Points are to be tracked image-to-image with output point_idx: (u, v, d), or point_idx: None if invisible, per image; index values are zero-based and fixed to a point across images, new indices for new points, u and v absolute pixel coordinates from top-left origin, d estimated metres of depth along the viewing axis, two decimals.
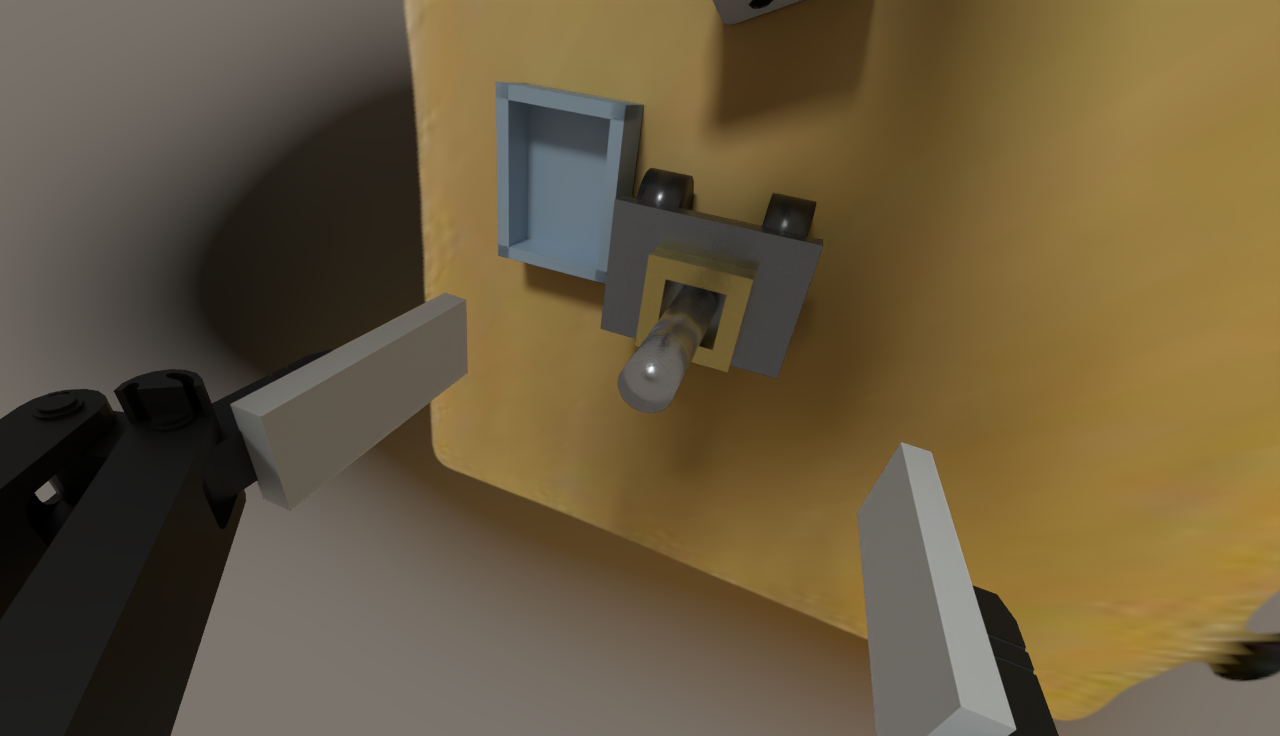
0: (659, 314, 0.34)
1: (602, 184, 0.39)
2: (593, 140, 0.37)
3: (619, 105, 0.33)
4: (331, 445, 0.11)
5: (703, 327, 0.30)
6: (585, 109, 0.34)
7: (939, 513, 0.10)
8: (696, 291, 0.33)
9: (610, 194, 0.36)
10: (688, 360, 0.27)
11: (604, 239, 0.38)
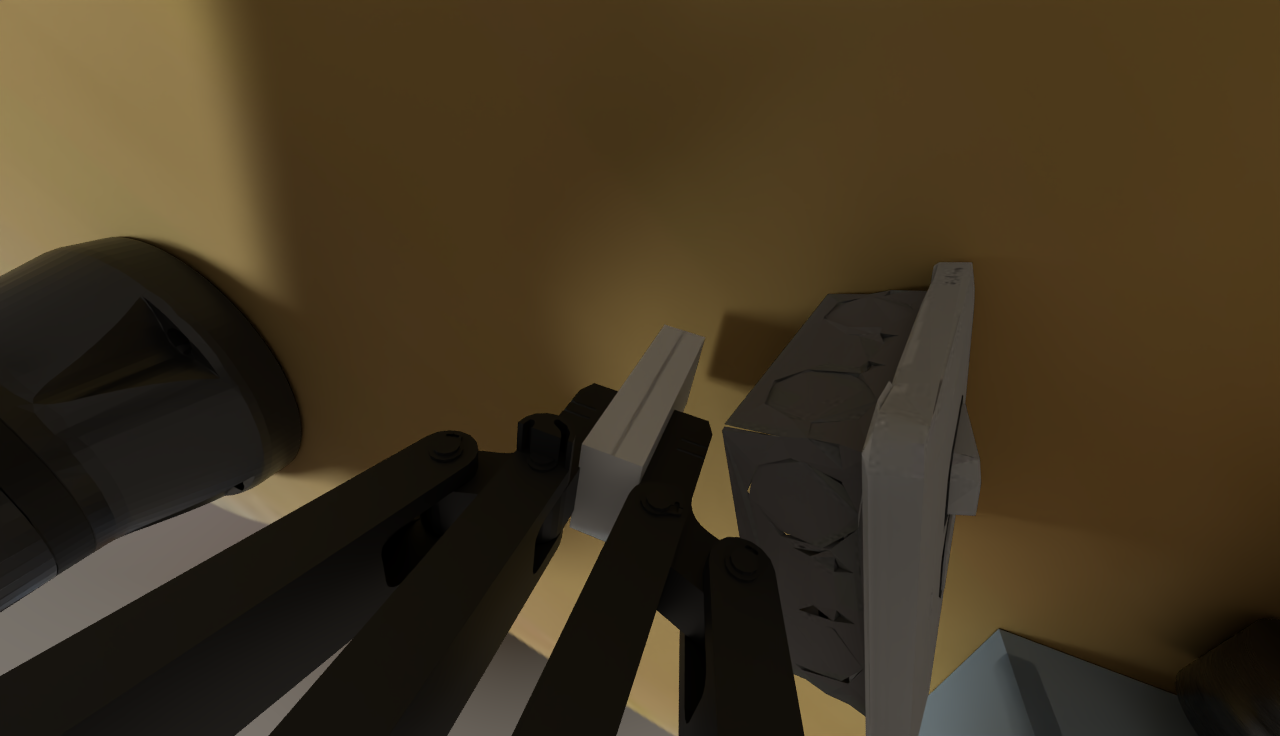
0: None
1: None
2: None
3: None
4: None
5: None
6: None
7: (680, 368, 0.14)
8: None
9: None
10: None
11: None
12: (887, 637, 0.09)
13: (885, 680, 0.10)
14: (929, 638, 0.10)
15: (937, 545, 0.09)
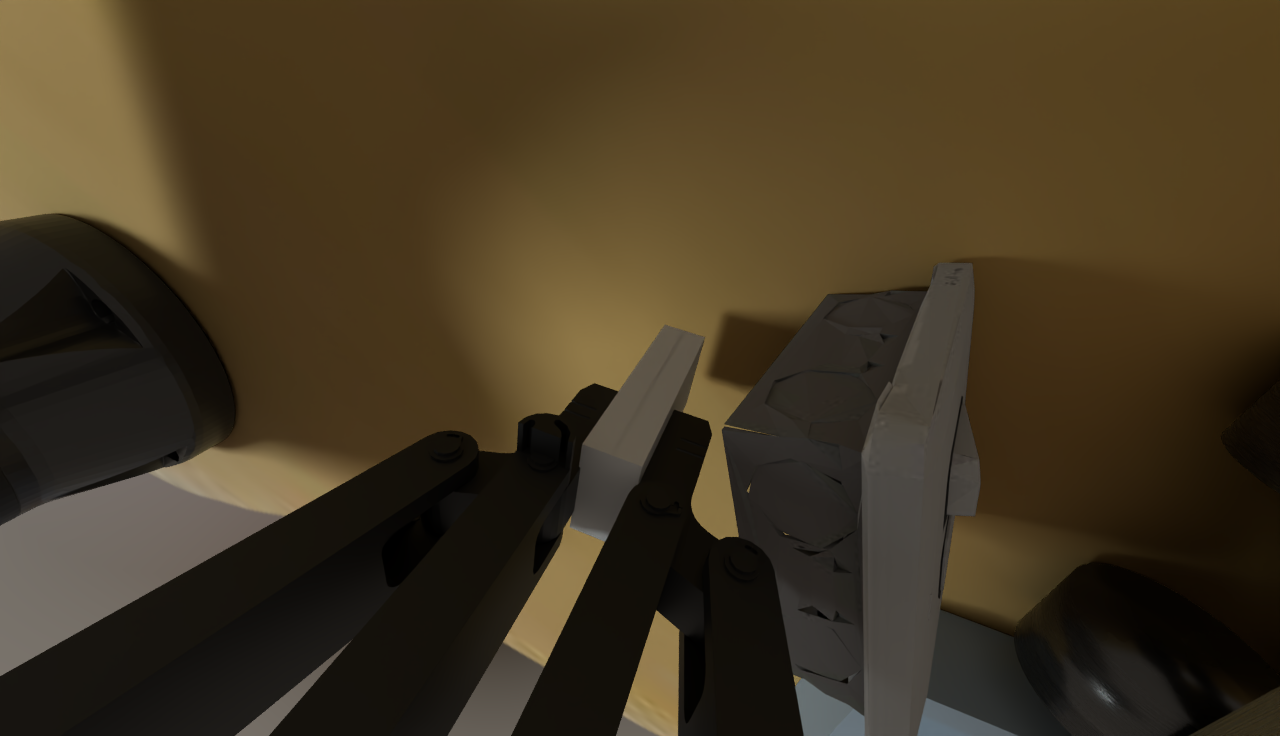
0: None
1: None
2: None
3: None
4: None
5: None
6: None
7: (680, 368, 0.14)
8: None
9: None
10: None
11: None
12: (886, 637, 0.09)
13: (884, 680, 0.10)
14: (928, 638, 0.10)
15: (936, 546, 0.09)
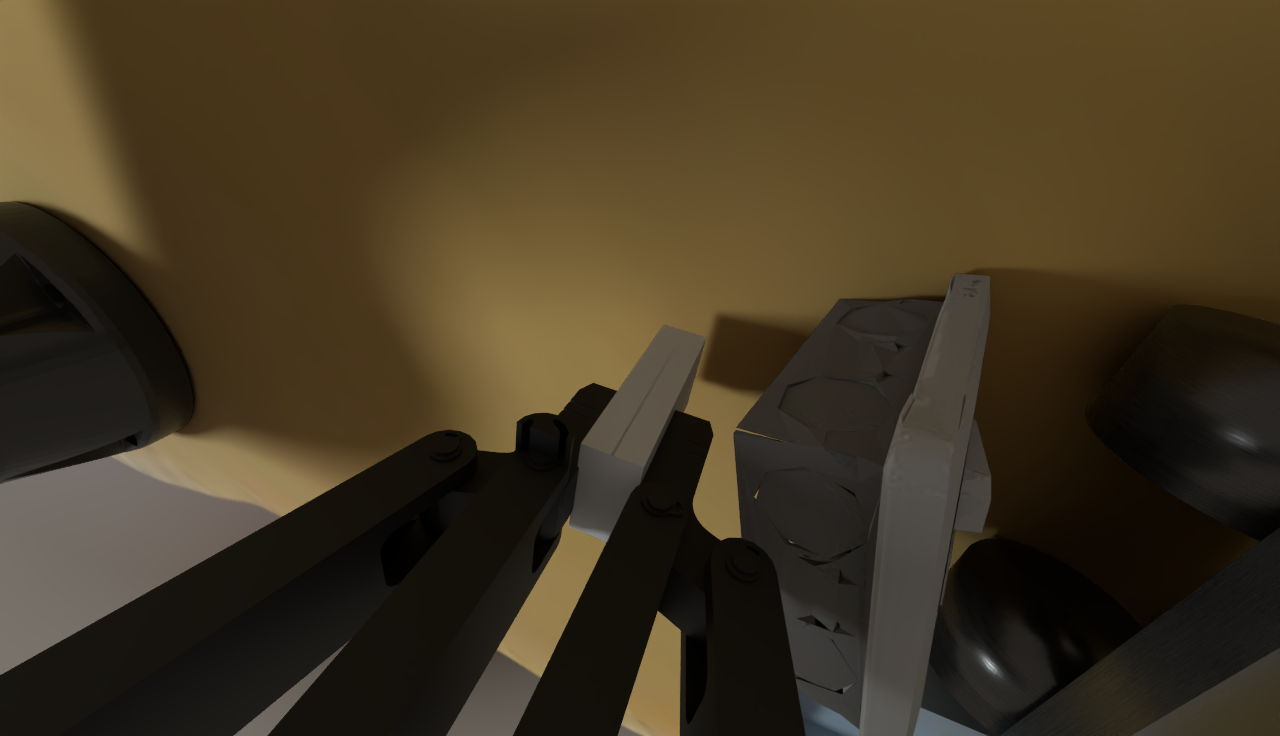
0: None
1: None
2: None
3: None
4: None
5: None
6: None
7: (681, 369, 0.14)
8: None
9: (955, 730, 0.16)
10: None
11: None
12: (891, 653, 0.09)
13: (884, 695, 0.09)
14: (928, 654, 0.10)
15: None
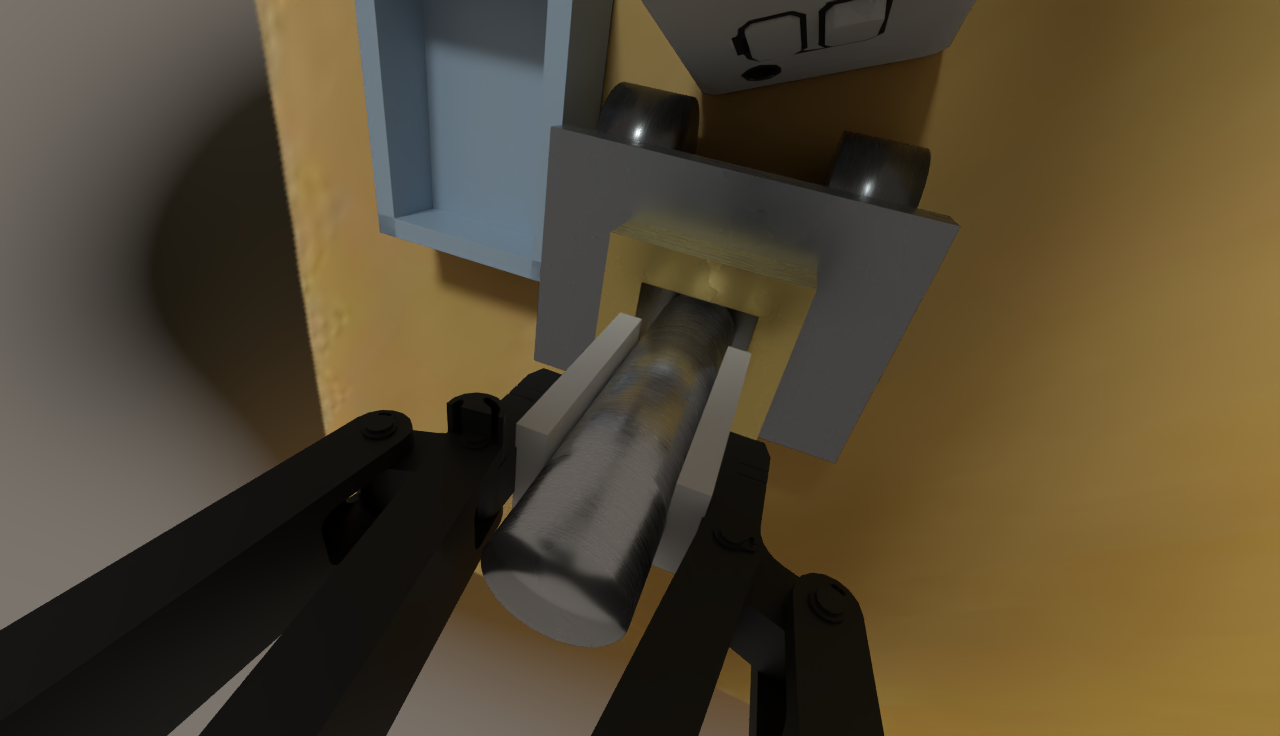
0: None
1: None
2: (529, 38, 0.22)
3: None
4: None
5: (711, 386, 0.14)
6: None
7: (732, 387, 0.13)
8: (698, 306, 0.17)
9: None
10: None
11: (544, 209, 0.22)
12: None
13: None
14: None
15: None
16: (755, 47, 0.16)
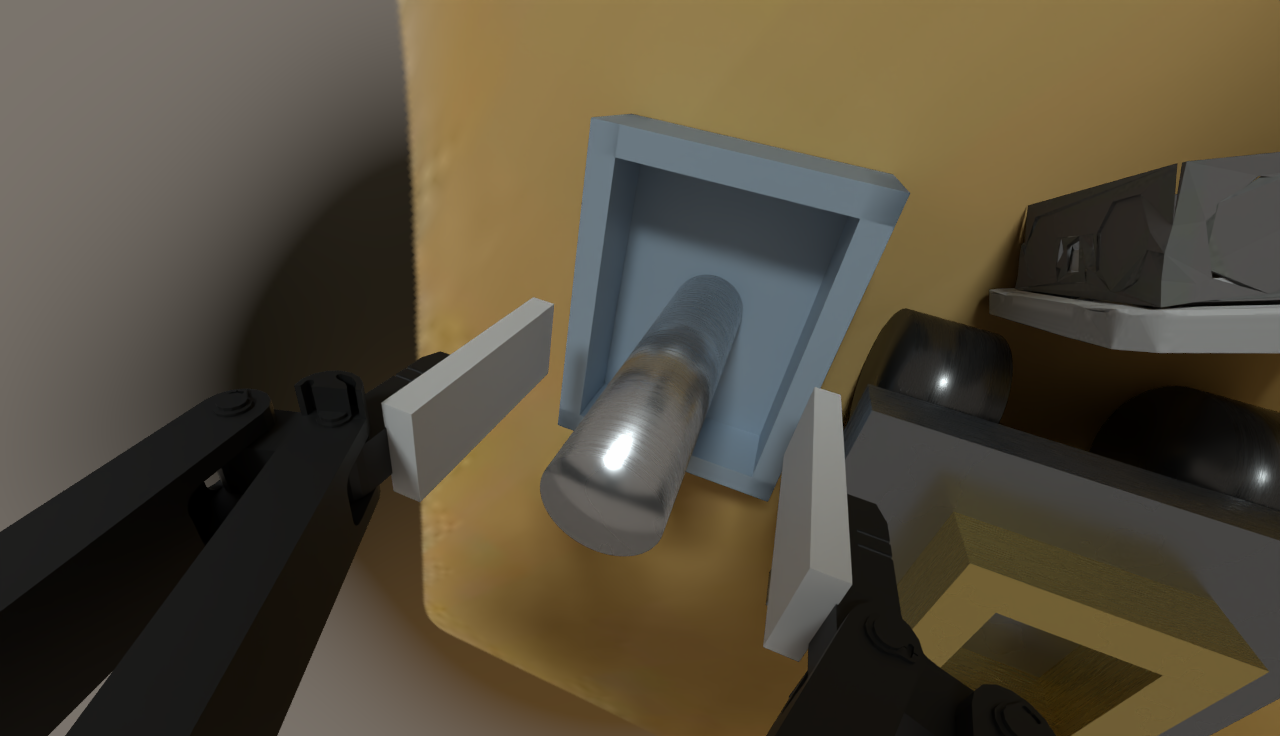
0: None
1: (772, 315, 0.20)
2: (770, 238, 0.19)
3: (893, 191, 0.14)
4: (452, 441, 0.12)
5: (724, 354, 0.16)
6: (800, 193, 0.15)
7: (833, 439, 0.12)
8: (711, 286, 0.19)
9: (819, 361, 0.17)
10: (697, 431, 0.13)
11: (783, 434, 0.19)
12: None
13: None
14: None
15: None
16: None
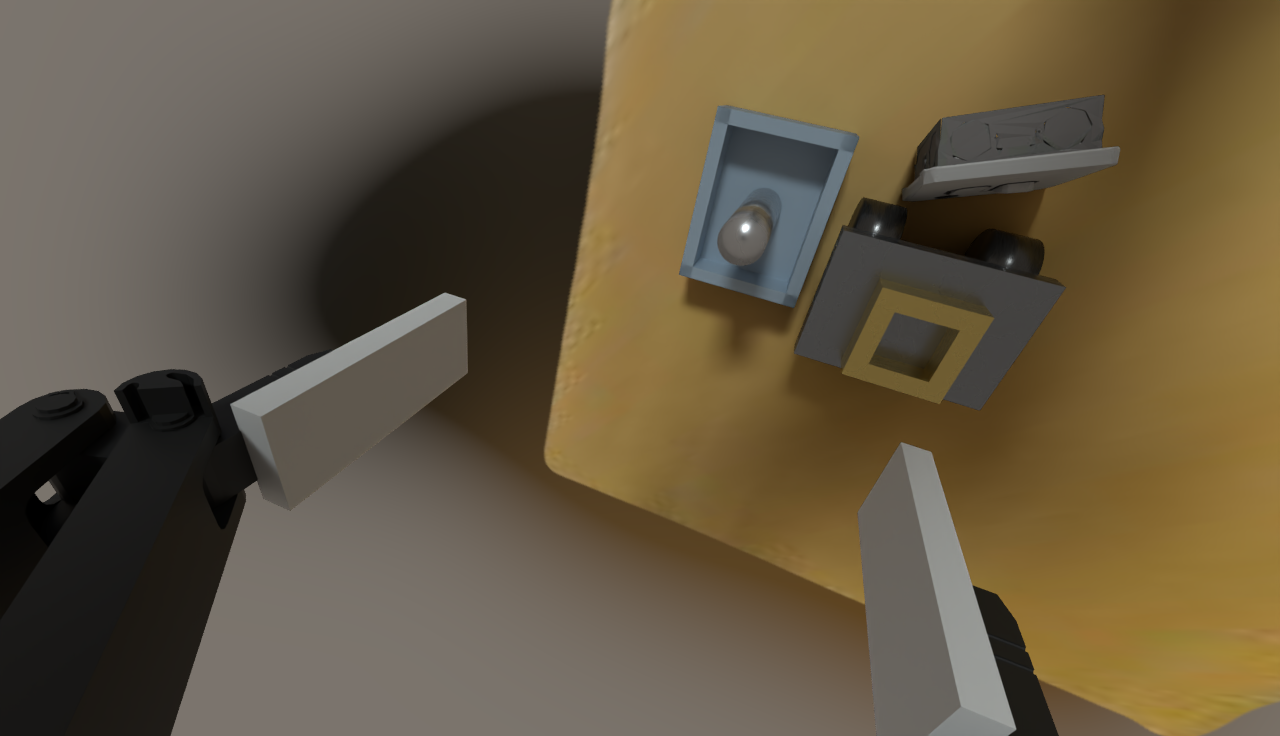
0: None
1: (797, 208, 0.39)
2: (796, 166, 0.38)
3: (852, 137, 0.33)
4: (331, 445, 0.11)
5: (776, 214, 0.35)
6: (812, 138, 0.34)
7: (939, 513, 0.10)
8: (767, 190, 0.38)
9: (821, 222, 0.36)
10: (771, 230, 0.32)
11: (802, 265, 0.38)
12: (1024, 164, 0.27)
13: (996, 166, 0.27)
14: (984, 182, 0.29)
15: (1033, 177, 0.28)
16: (956, 193, 0.32)
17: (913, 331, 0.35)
